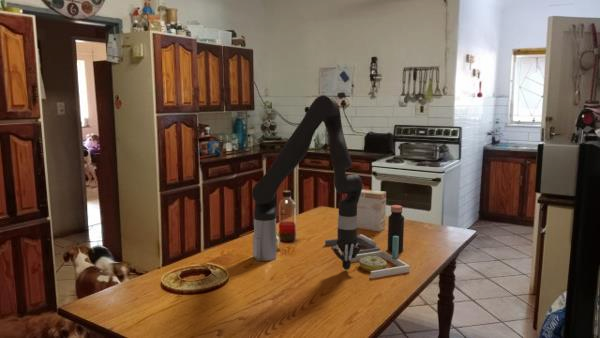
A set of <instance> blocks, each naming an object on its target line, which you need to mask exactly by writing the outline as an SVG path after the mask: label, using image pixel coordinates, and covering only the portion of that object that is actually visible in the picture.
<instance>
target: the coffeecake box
mask: <svg viewBox="0 0 600 338" xmlns="http://www.w3.org/2000/svg"><path fill="white" fill-rule="evenodd" d="M386 217H387V191H383V190H373V189H372V190H371V189H363V188H362V191H361V194H360V197H359V201H358V204H357V229H362V230H368V231H374V232H378V233H379V232H382V231H384V230H385V229H386Z"/></svg>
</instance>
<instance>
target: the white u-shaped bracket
mask: <svg viewBox="0 0 600 338" xmlns="http://www.w3.org/2000/svg"><path fill="white" fill-rule="evenodd" d="M398 247H399V236H393V245H392V252H391V253H388V252H387V251H385V250H380V251H377V252H370V253H364V254H357V255H356V257H355V258H352V259H351V263H355V262H360V259H362V258H364V257H368V256H377V257H380V258H382V259H384V260H385V261H388V262H390V263H391V264H392V265H394V267H388V268H384V269H381V270H375V271H371V272H370V279H376V278H377V279H378V278H383V277H388V276H395V275H400V274H406V273H410V272H411V266H410V264H407V263H406V262H404V261H403V260H401V259H400V258H399V252H398Z"/></svg>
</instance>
